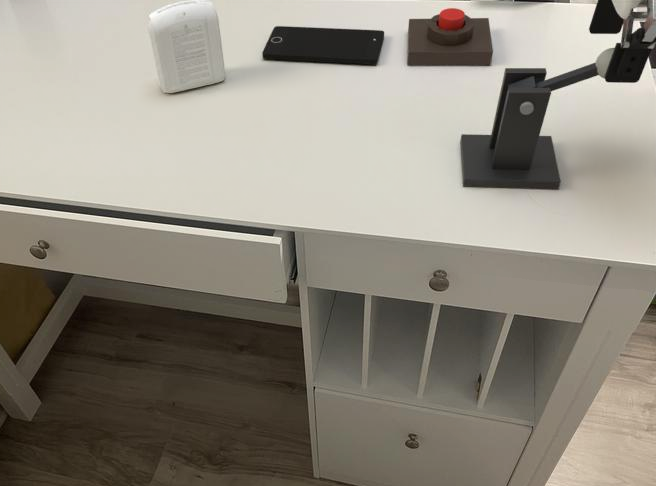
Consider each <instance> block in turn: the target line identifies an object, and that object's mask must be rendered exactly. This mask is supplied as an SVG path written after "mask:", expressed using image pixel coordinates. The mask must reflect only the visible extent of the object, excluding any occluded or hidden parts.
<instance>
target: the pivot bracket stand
mask: <svg viewBox="0 0 656 486" xmlns="http://www.w3.org/2000/svg"><path fill="white" fill-rule="evenodd" d="M532 76H534V79H535V82H536V83H539V82H542V81H544V80H546V77H547V68H545V67H505V68H504V72H503V77H502V82H501V87H500V91H499V92H500V93H499V96H498V101H497V105H496V110H495V115H494V120H493V124H492V128H491V132H490V133H491V134H467V133H465V134H463V133H461V134H460V141H459V143H460V160H461V175H462V176H461V177H462V187H467V188H469V187H470V188H499V189H500V188H501V189H531V190H532V189H533V190H535V189H536V190H559V189H560V185H561V182H562V181H561V177H560V171H559V167H558V162H557V158H556V153H555V152H556V151H555V147H554V143H553V138H552V135H541V131H542V127H543V124H544V120H545V117H546V114H547V110H548V106H549V102H550V99H551V96H552V91H551V90H550V88H508V85H510V84H512V83H515V82H518V81H521V80H524V79H526V78H529V77H532Z"/></svg>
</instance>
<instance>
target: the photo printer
mask: <svg viewBox="0 0 656 486" xmlns="http://www.w3.org/2000/svg"><path fill="white" fill-rule="evenodd" d="M147 28H148V29H147V30H148V35H149V40H150V44H151V49H152V53H153V58H154V59H153V60H154V63H155V67H156V68H155V69H156V73H157V78H158V83H159V87H160V90H161V91H162V92H163V93H165V94H172V93H178V92H179V93H180V92H183V91H188V90H193V89H195V88H201V87H203V86H209V85H212V84H213V85H214V84H218V83H220V82H223V81H225V79H226V68H225V60H224V51H223V45H222V44H223V43H222V35H221V28H220V20H219V16H218V12H217V9H216V8H215V5H214V4H213V1H210V0H182V1H177V2H174V3H170V4H167V5H165V6H162V7H160V8H158V9H156V10H155V11H152V12H151V13H150V14H149V15H148V27H147Z"/></svg>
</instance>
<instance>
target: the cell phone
mask: <svg viewBox="0 0 656 486" xmlns="http://www.w3.org/2000/svg"><path fill="white" fill-rule="evenodd" d="M384 39H385V31H384V30H382V29H381V30H378V29H361V28H360V29H358V28H357V29H356V28H336V27H335V28H333V27H313V26H312V27H311V26H288V25H287V26H286V25H276V26H274V27H273V29H272V31H271V33H270V35H269V37H268V40H267V42H266V44H265V45H264V48H263V50H262V51H261V53H262V55H261V56H262V59H264V60H269V59H270V60H284V61H285V60H286V61H305V62H322V63H324V62H325V63H338V64H339V63H340V64H360V65H372V66H373V65H377V64H378V62H379V58H380V55H381V51H382V46H383V43H384Z"/></svg>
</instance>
